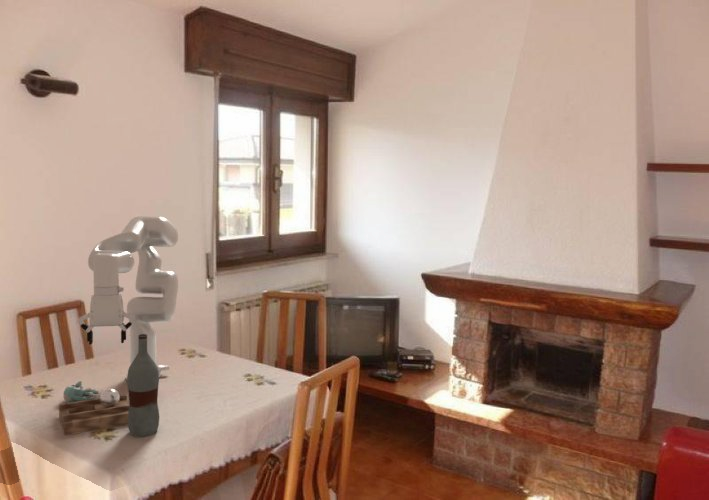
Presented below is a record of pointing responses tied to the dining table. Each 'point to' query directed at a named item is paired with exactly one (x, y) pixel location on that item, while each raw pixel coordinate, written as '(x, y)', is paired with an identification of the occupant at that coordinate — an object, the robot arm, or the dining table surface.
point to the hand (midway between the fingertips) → (106, 342)
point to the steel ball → (109, 398)
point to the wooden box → (92, 415)
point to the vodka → (143, 392)
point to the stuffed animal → (78, 393)
